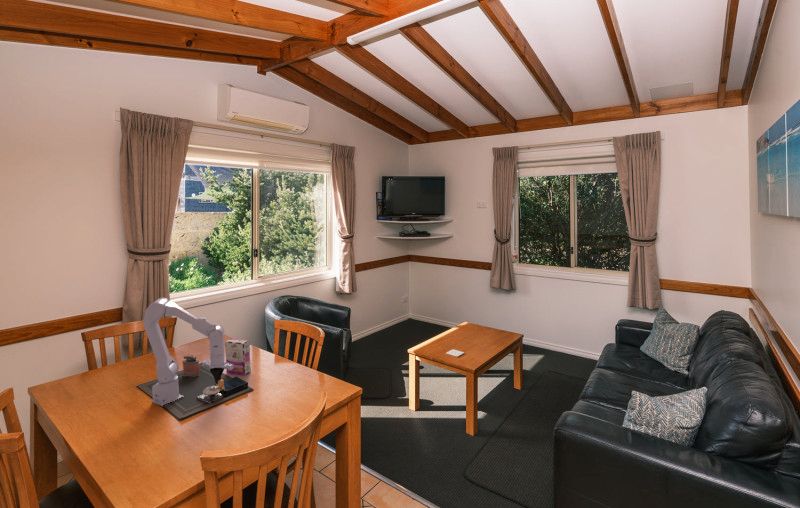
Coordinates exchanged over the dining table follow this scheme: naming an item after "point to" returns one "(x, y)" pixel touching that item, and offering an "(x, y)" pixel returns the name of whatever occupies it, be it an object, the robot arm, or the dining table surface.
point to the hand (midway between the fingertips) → (218, 382)
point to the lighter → (190, 366)
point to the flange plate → (214, 388)
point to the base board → (211, 396)
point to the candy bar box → (238, 356)
